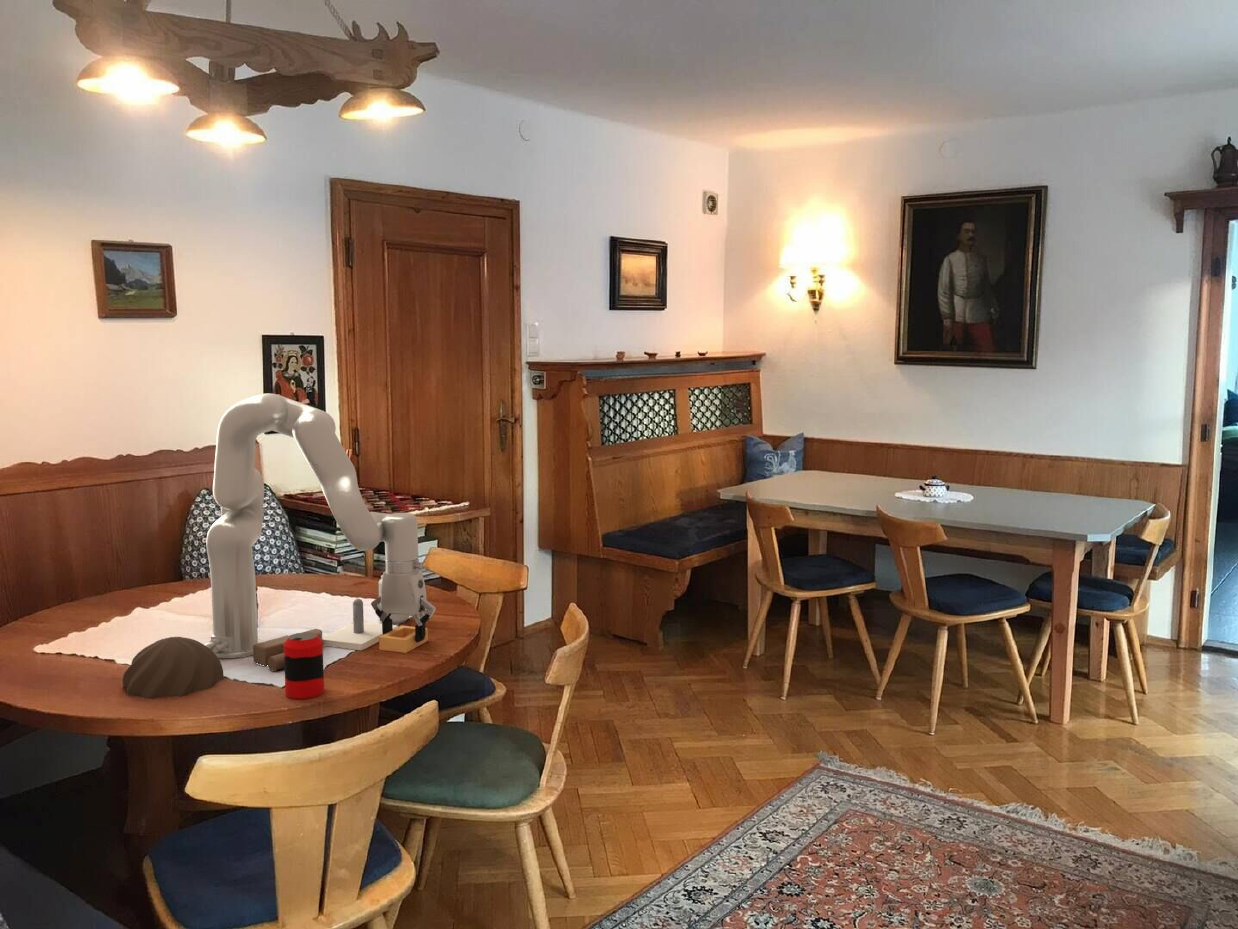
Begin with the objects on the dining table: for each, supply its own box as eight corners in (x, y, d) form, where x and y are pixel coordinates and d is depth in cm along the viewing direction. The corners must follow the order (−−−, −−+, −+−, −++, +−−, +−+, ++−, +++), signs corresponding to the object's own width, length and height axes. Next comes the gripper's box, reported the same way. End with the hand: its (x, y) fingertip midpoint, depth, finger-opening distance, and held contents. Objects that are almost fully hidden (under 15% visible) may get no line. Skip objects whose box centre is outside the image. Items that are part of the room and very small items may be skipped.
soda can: (278, 698, 206) (275, 640, 205) (298, 685, 214) (296, 629, 212) (311, 701, 204) (309, 643, 203) (331, 688, 212) (329, 632, 210)
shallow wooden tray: (405, 652, 235) (405, 640, 235) (379, 649, 238) (379, 637, 237) (427, 640, 245) (427, 628, 244) (402, 637, 247) (401, 625, 247)
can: (376, 618, 263) (375, 573, 261) (405, 615, 266) (404, 570, 265) (383, 626, 256) (381, 579, 255) (412, 622, 259) (411, 576, 258)
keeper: (361, 650, 237) (360, 609, 236) (317, 645, 241) (316, 605, 239) (398, 631, 252) (397, 593, 251) (356, 626, 256) (355, 588, 254)
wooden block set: (248, 641, 226) (315, 623, 241) (249, 665, 227) (316, 646, 241) (296, 655, 216) (363, 635, 231) (297, 681, 217) (364, 659, 232)
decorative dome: (240, 682, 216) (238, 636, 214) (144, 707, 202) (141, 658, 200) (200, 661, 229) (198, 618, 228) (107, 683, 215) (104, 637, 214)
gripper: (443, 565, 239) (444, 638, 242) (378, 560, 245) (380, 630, 247) (426, 572, 232) (428, 647, 235) (360, 566, 238) (363, 639, 240)
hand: (403, 638), depth 241 cm, fingers open, 8 cm apart
